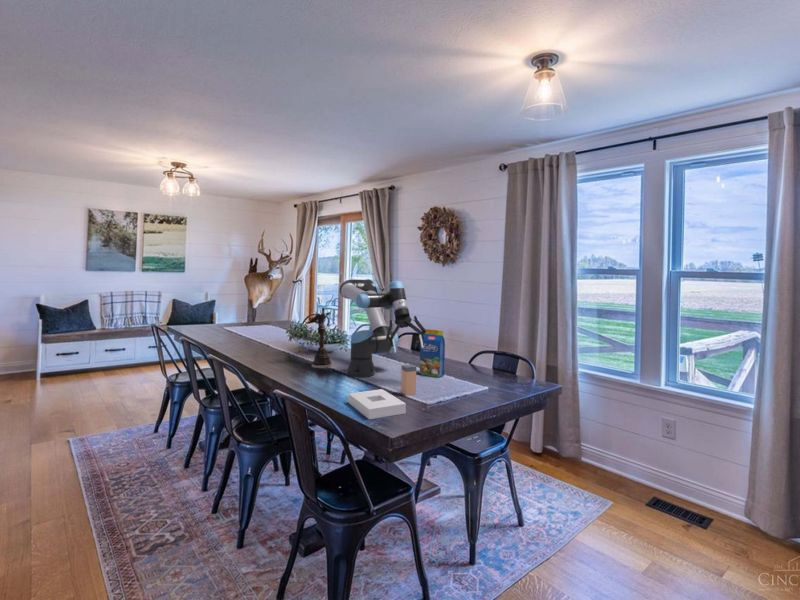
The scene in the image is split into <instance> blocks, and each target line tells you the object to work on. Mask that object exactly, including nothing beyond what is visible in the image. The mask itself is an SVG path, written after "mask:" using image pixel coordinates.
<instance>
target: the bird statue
mask: <svg viewBox="0 0 800 600" xmlns="http://www.w3.org/2000/svg"><path fill="white" fill-rule="evenodd" d="M325 308H326V307H322V308H321V313H320V312H318V311H317V310H316V311H315V312H314V313H315V315H314V316H312V318H311V319H309V320H305V323H304V324H305V325H308V324H313V323H317V322H318V327H317V332H318V333H319V339H318V340H319V342H320V343H319V347H318V349H317V352H316V354H314V359H313V362H311V368H313V369H327V368H331V367H332V361H331V359H330V355H329V353H328V352H327V350H326V349H327V347H325V346H324V345H325V343H324V342H325V339H324V338H325V337H324V336H325V333H326V331H327V328H326V324H325V323H324V320H325V319H326V317H328V316H329V315H330V314H331V312H330V311H328V312H325Z"/></svg>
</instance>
